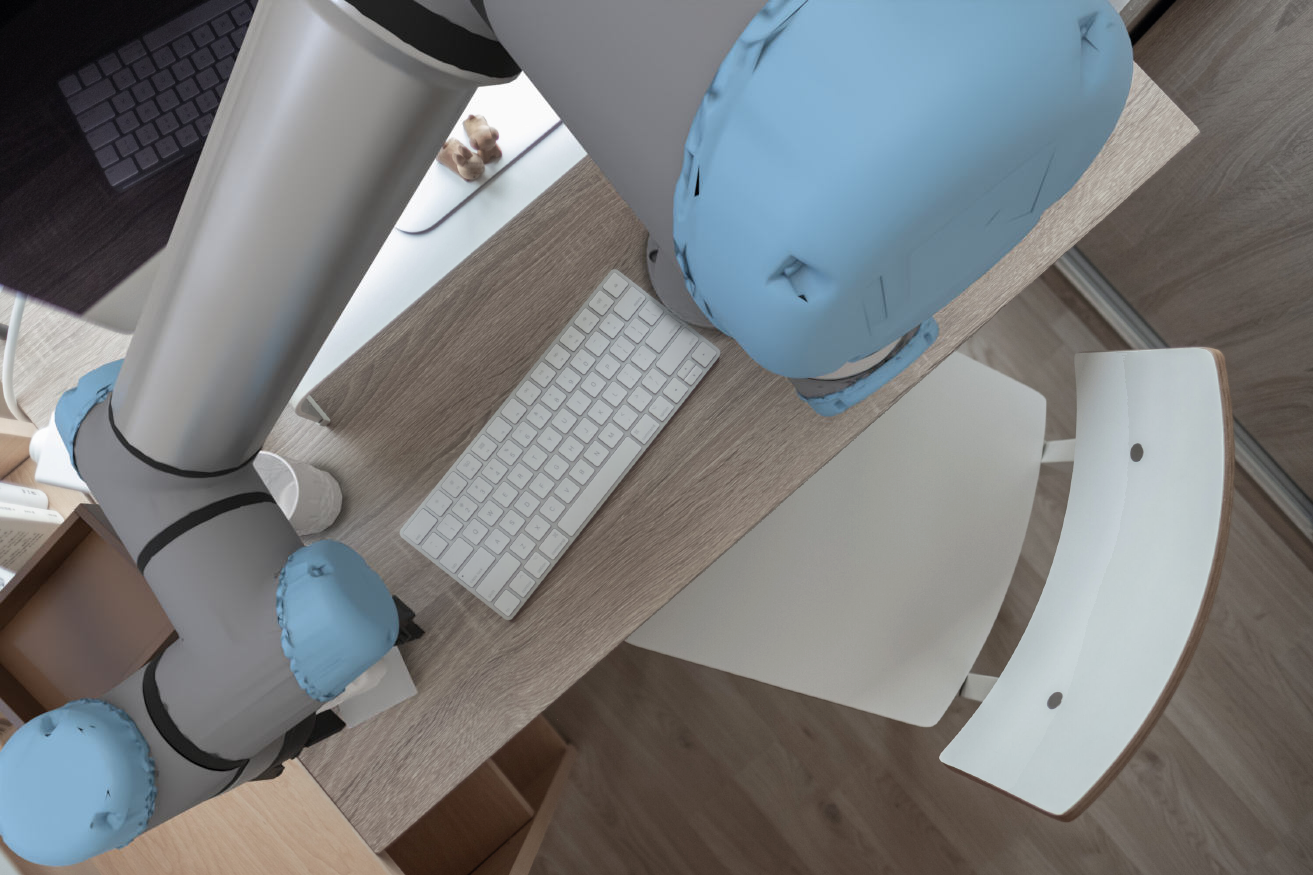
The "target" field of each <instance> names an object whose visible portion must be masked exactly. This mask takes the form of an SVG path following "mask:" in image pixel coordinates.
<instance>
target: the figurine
mask: <svg viewBox="0 0 1313 875" xmlns="http://www.w3.org/2000/svg"><path fill="white" fill-rule="evenodd" d="M417 694H419V693H418V690H417V688H416V685H415V683H414V681H413V678H412V676H411V674H410V672H409V669H408V667H407V665H406V663H405V661H404V658H403V657H402V654H401V651H400V649H399V646H395V647H394V646H393V647H392V649H391V650H390V651H389V652H388V653H387V654H386V655H384V656H383V657H382V658H381V659H380V660H378V661H377V662H376V663H375V664H373V665H372V666H371V667H370V668H369V669H367V670H366V671H365V672H364V673H362V674H361V675H360V676H359V677H357V678H356V679H355V680H354V681H353V682H351V683H350V684H349V685H348V686H346V687H345V691H344V692H343V693H341V694H340V695H338V696H337V697H336V698H335V699H333V700H331V701H328V702H327V703H326V704H324V705H323V706H322V707H321V708H319V709H318V710H317V711H316V714H318V713H320V712H323V711H325V710H328V709H331V710H332V709H333V708H334V707H336V706H337V707H338V709H339V711H340V714H341V716H342V719H343V721H344V722H345V723H346V728H347V729H348V730H350V729H352V728H354V727H356V726H358V725H360V724H362V723H364V722H365V721H368V720H369V719H372V718H373V717H376V716H377V715H379V714H381V713H383V712H385V711H387V710H389V709H391V708H392V707H394V706H397V705H398V704H401V703H402V702H404V701H405V700H408V699H409V698H411V697H414V696H415V695H417Z"/></svg>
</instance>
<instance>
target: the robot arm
mask: <svg viewBox="0 0 1313 875" xmlns="http://www.w3.org/2000/svg"><path fill="white" fill-rule="evenodd" d="M240 46H241V47H240V50H239V51H238V55H237V57H236V60H235V62H234V65H233V68H232V71H231V73H230V76H229V79H228V81H227V84H226V87H225V89H224V92H223V94H222V97H221V100H220V103H219V105H218V107H217V111H216V113H215V116H214V119H213V121H212V123H211V127H210V129H209V131H208V135H207V138H206V140H205V143H204V144H203V145H204V146H203V147H202V150H201V153H200V156H199V159H198V161H197V164H196V167H195V170H194V172H193V175H192V177H191V179H190V182H189V186H188V188H187V190H186V193H185V195H184V199H183V202H182V204H181V207H180V209H179V212H178V214H177V217H176V220H175V223H174V225H173V227H172V231H171V233H170V236H169V239H168V241H167V243H166V246H165V249H164V252H163V255H162V257H161V260H160V263H159V266H158V268H157V271H156V273H155V276H154V279H153V281H152V284H151V287H150V289H149V292H148V294H147V297H146V299H145V302H144V304H143V308H142V311H141V313H140V315H139V319H138V320H137V324H136V327H135V330H134V332H133V334H132V338H131V340H130V342H129V346H128V348H127V351H126V353H125V356H124V357H123V358H120V359H116V360H113V361H110V362H108V363H105V364H103V365H101V366H98V367H96V368H95V369H92V370H90V371H89V372H86V373H85V374H84V375H82V376H80V377H79V379H78V381H77V385H76V386H74V387H72V388H69V389H67V390H65V391H64V392H63V393H62V394H61V396H60V397H59V400H58V401H57V402H56V406H55V409H54V425H55V427H56V431H57V432H58V434H59V436H60V439H61V440H62V442H63V445H64V447H65V449H66V451H67V453H68V455H69V456H68V457H69V462H70V465H71V466H72V468H73V469H74V470H75V473H76V475H77V476H78V478H79V479H80V480H81V481H82V482H84V484H85V485H86V487H87V488H88V490H89V491H90V493H91V494H92V496H93V498H94V499H95V501H96V502H97V504H99V506H100V507H101V509H102V510H103V512H104V514H105V515H106V517H107V518H108V520H109V522H110V523H111V525H112V526H113V528H114V530H115V531H116V533H117V534H118V536H119V538H120V539H121V541H122V542H123V544H124V546H125V547H126V549H127V550H128V552H129V554H130V555H131V557H132V558H133V560H134V562H135V563H136V565H137V566H138V569H139V570H140V572H141V574H142V575H143V577H144V578H145V579H146V581H147V582H148V584H149V586H150V587H151V589H152V591H153V592H154V594H155V596H156V598H157V599H158V601H159V603H160V604H161V606H162V608H163V609H164V611H165V613H166V614H167V616H168V618H169V619H170V621H171V623H172V625H173V626H174V628H175V629H176V631H177V633H178V635H179V639H178V640H177V641H175V642H174V643H173V644H172V645H171V646H169V647H168V648H167V649H166V650H164V651H163V652H161V653H160V654H159V655H157V656H156V657H155V658H153V660H152V661H151V662H149V663H148V664H146V665H145V666H143V667H142V668H141V669H139V670H138V671H137V672H135V673H134V674H133V675H131V676H130V677H128V678H127V679H126V680H124V681H123V682H122V683H120V684H119V685H117V686H116V687H115V688H113V689H112V690H110V691H108V692H107V693H105V694H103V695H101V696H99V697H97V698H94V699H91V698H82V699H79V700H78V701H77V700H74V701H70V702H68V703H67V704H66V705H64V706H63V707H60V708H57V709H55V710H52V711H49V712H46V713H44V714H41V715H39V716H37V717H35V718H34V719H32V720H30V721H29V722H28V723H26V724H25V725H23V726H22V727H21V728H20V729H18V730H17V729H16V731H15V732H14V733H13V734H12V735H11V736H10V738H9V739H8V740H7V741H6V743H5V744H4V745H3V747H2V748H1V750H0V836H1V837H2V840H3V843H4V844H6V846H7V847H8V848H9V849H10V850H11V851H12V852H13V853H14V854H16V855H17V856H19V857H20V858H22V859H23V860H25V861H28V862H30V863H33V864H36V865H41V866H46V867H69V866H72V865H77V864H80V863H83V862H85V861H87V860H90V859H93V858H94V857H98V856H99V855H102V854H105V853H107V852H111V851H112V850H121V849H124V848H125V847H127V846H129V845H130V844H131V843H132V842H134V840H135V839H136V838H138V837H140V836H142V835H144V834H146V833H148V832H149V831H151V830H154V829H155V828H157V827H159V826H160V825H163V824H164V823H166V822H168V821H170V820H171V819H173V818H175V817H177V816H179V815H181V814H183V813H185V812H187V811H189V810H190V809H191V810H192V809H193V808H194V807H196V806H199V805H201V804H202V803H204V802H207V801H209V800H212V799H215V798H217V797H220V796H222V795H224V794H226V793H229V792H230V791H233V790H234V789H236V788H239V787H240V786H242V785H244V784H246V783H252V782H253V783H254V782H261V781H270V780H275V779H276V778H280V776H281V775H282V774H284V773H283V771H284V770H285V769H286V767H285V765H283V764H284V763H285V762H287V761H288V760H290V761H293V760H295V759H297V758H298V757H299V756H300V755H301V754H302V752H303V751H304V749H305V748H306V749H308V748H310V747H312V746H314V745H316V744H318V743H320V742H322V741H324V740H326V739H328V738H330V737H332V736H334V735H336V734H338V733H340V732H342V731H343V730H344V729H345V727H347V725H346V723H345V721H344V719H343V718H341V717H340V716H339V715H338V714H337V713H335V711H333V709H332V708H331V709H328V710H325V711H323V712H320V713H318V714H316V711H317V710H318V709H319V708H321V707H322V706H323V705H324V704H326V703H327V702H328V701H331V700H333V699H335V698H336V697H337V696H338V695H340V694H341V693H343V692H344V691H345V687H346V686H348V685H349V684H350V683H351V682H353V681H354V680H355V679H356V678H357V677H359V676H360V675H361V674H362V673H364V672H365V671H366V670H367V669H369V668H370V667H371V666H372V665H373V664H375V663H376V662H377V661H378V660H380V659H381V658H382V657H383V656H384V655H386V654H387V653H388V652H389V651H390V650H391V649H392V647H393V646H394V647H395V646H397V647H399V646H401V645H405V644H407V643H410V642H414V641H417V640H420V639H422V637H423V636H424V635H425V634H426V631H425V630H424V629H422V627H421V626H420V625H418V624H417V623H416V622H415V621H414V620H415V617H416V616H417V614H416V612H415V611H414V610H412V609H411V608H410V607H409V606H408V605H407V604H406V603H405V602H404V601H402V599H401V598H400V597H398V595H396V594H394V595H392V594H391V592H390V590H389V588H388V587H387V585H386V583H385V582H384V580H383V579H382V577H381V576H380V575H379V574H378V572H377V571H375V570H373V569H372V568H371V567H370V566H369V565H368V563H367V562H366V560H365V558H364V557H363V556H362V555H360V554H359V552H357V551H355V549H353V548H351V547H350V546H348V545H346V544H345V543H344V542H341V541H338V540H334V539H327V538H326V539H319V540H316V541H314V542H312V543H311V544H308V545H306V546H305V544H304V542H303V541H302V539H301V536H298V534H297V533H296V531H295V530H294V528H293V527H292V525H291V524H290V522H289V520H288V519H287V517H286V516H285V514H284V513H283V511H282V510H281V508H280V507H279V505H278V504H277V503H276V501H275V499H274V498H273V496H272V495H271V493H270V491H269V490H268V488H267V487H266V485H265V484H264V482H263V480H262V479H261V477H260V476H259V474H258V473H257V471H256V469H255V468H254V466H253V462H254V460H255V459H256V457H257V455H258V453H259V452H260V451H262V449H263V447H264V444H265V442H266V440H267V438H269V435H270V434H271V432H272V430H273V429H274V427H275V425H276V424H277V422H278V421H279V419H280V417H281V416H282V414H283V412H284V411H285V409H286V407H287V406H288V404H289V402H290V401H291V399H292V397H293V396H294V394H295V393H296V391H297V390H298V387H299V386H300V384H301V382H302V381H303V379H304V377H305V376H306V374H307V372H308V371H309V369H310V368H311V366H312V364H313V363H314V361H315V359H316V358H317V356H318V354H319V352H320V351H321V349H322V347H323V346H324V344H325V343H326V341H327V339H328V337H329V336H330V334H331V332H332V331H333V329H334V328H335V326H336V324H337V323H338V321H339V320H340V318H341V316H342V314H343V313H344V311H345V309H346V307H347V305H348V304H349V303H350V301H351V299H352V298H353V296H354V294H355V293H356V291H357V289H358V288H359V286H360V285H361V283H362V281H363V280H364V278H365V276H366V274H367V273H368V271H369V270H370V268H371V267H372V265H373V263H374V261H375V260H376V258H377V256H378V255H379V253H380V251H381V250H382V248H383V247H384V244H385V243H386V242H387V239H388V238H389V237H390V234H391V233H392V232H393V230H394V228H395V226H396V225H397V223H398V222H399V220H400V218H401V217H402V215H403V213H404V212H405V210H406V208H407V207H408V205H409V203H410V201H411V200H412V198H413V196H415V193H416V191H417V190H418V188H419V187H420V185H421V183H422V181H423V180H424V178H425V177H426V175H427V173H428V172H429V170H430V168H431V167H432V165H433V163H434V162H435V160H436V159H437V157H438V155H439V153H440V152H441V150H442V148H443V147H444V145H445V144H446V142H447V140H448V139H449V137H450V135H451V133H452V132H453V130H454V129H455V127H456V125H457V124H458V122H459V120H460V118H461V117H462V116H463V113H464V112H465V110H466V109H467V107H468V105H469V103H470V102H471V100H472V99H473V97H474V95H475V93H476V92H477V90H478V88H482V87H491V86H500V85H507V84H510V83H512V82H514V81H516V80H517V79H518V78H519V77H520V75H521V74H522V72H523V74H524V75H525V76H526V77H527V78H528V80H529V81H530V83H531V84H532V85H533V86H534V88H535V89H536V90H537V92H538V93H539V95H541V97H542V98H543V99H544V100H545V101H546V103H547V104H548V105H549V107H550V108H551V109H552V110H553V112H554V113H555V114H556V116H557V117H558V119H560V121H561V122H562V123H563V125H564V126H565V127H566V128H567V129H568V131H569V132H570V134H572V136H573V137H574V138H575V140H576V141H577V142H578V144H579V145H580V147H581V148H582V149H583V150H584V151H585V152H586V154H587V156H589V158H590V159H591V160H592V162H593V163H594V165H596V167H597V168H598V169H599V170H600V172H601V173H602V174H603V176H604V177H605V178H606V180H607V181H608V182H609V183H610V185H611V186H612V187H613V188H614V190H615V191H616V192H617V193H618V195H619V196H620V197H621V199H622V200H623V201H624V202H625V203H626V205H627V206H628V208H629V209H630V210H631V211H632V212H633V214H634V215H635V216H636V218H637V219H638V220H639V221H640V223H641V224H642V225H643V227H644V228H645V229H646V230H647V232H648V233H649V235H648V239H647V244H646V267H647V273H648V277H649V279H650V284H651V286H652V288H653V291H654V292H655V294H656V296H657V297H658V299H659V300H660V301H661V303H662V304H663V306H665V308H666V309H667V310H668V311H669V312H671V313H672V314H673V315H674V316H676V317H677V318H678V319H680V320H682V321H684V322H686V323H688V324H690V325H692V326H695V327H697V328H701V329H705V330H713V331H720V332H721V333H723V334H724V335H726V336H728V337H730V338H733V339H734V340H735V341H736V343H738V345H739V346H740V347H741V348H742V349H743V350H744V351H745V353H746V354H747V355H748V356H749V357H750V358H751V359H752V360H753V361H754V362H755V363H756V364H758V365H759V366H760V367H762V368H763V369H765V370H767V371H769V372H770V373H773V374H775V375H778V376H781V377H783V378H784V377H785V378H787V380H788V381H789V382H790V383H791V385H792V387H793V388H794V389H795V392H796V395H797V396H798V397H799V398H798V399H799V400H801V401H802V402H805V403H806V404H808V406H810V408H811V409H812V410H813V412H815V413H816V414H817V415H819V416H820V417H826V418H830V417H831V418H832V417H835V416H839V415H840V414H842V413H844V412H846V411H847V410H848V409H849V408H851V407H853V406H855V405H857V404H859V403H861V402H862V401H864V400H866V399H867V398H868V397H870V396H871V395H872V394H874V393H876V392H877V391H878V390H880V389H881V388H883V387H884V386H885V385H887V384H888V383H889V382H891V381H893V379H895V378H896V377H897V376H898V375H899V374H901V373H902V372H904V371H905V370H906V369H907V368H909V367H911V365H912V364H914V363H915V362H916V361H917V360H918V359H920V357H922V355H923V354H924V353H925V352H926V351H927V350H928V348H930V347H931V346H933V344H935V342H936V341H937V339H938V337H939V334H940V326H939V323H938V322H937V319H935V317H934V315H936V314H937V313H938V312H940V311H941V310H942V309H944V308H945V307H946V306H947V305H949V304H950V303H951V302H953V301H954V300H956V298H958V297H959V296H960V295H961V294H963V293H964V292H966V290H967V289H968V288H970V287H971V286H972V285H973V284H974V283H975V282H977V281H978V280H979V279H981V278H983V276H985V275H986V274H987V273H988V272H989V271H990V270H992V268H993V267H994V266H996V265H998V263H999V262H1000V261H1002V259H1004V258H1005V257H1006V256H1007V255H1008V254H1009V253H1010V252H1011V251H1012V250H1013V249H1014V248H1015V247H1017V246H1018V245H1019V244H1020V243H1021V242H1022V241H1023V240H1024V239H1025V238H1026V237H1027V236H1028V235H1029V233H1030V232H1031V231H1032V230H1033V229H1034V228H1035V227H1036V226H1037V225H1038V224H1039V223H1040V220H1041V216H1042V215H1043V214H1044V212H1045V211H1046V210H1048V209H1049V208H1051V207H1052V206H1053V205H1055V204H1056V203H1057V202H1058V201H1059V200H1061V199H1062V198H1064V196H1065V195H1066V194H1068V193H1069V192H1070V191H1071V190H1072V189H1073V188H1074V186H1075V185H1076V184H1077V183H1078V181H1079V180H1080V179H1081V178H1082V177H1083V175H1084V174H1085V173H1086V172H1087V170H1088V169H1089V168H1090V167H1091V165H1092V164H1093V162H1094V161H1095V160H1096V158H1097V156H1098V155H1099V154H1100V153H1101V151H1102V150H1103V148H1104V147H1105V145H1106V143H1107V142H1108V140H1109V139H1110V137H1111V136H1112V134H1113V132H1114V131H1115V128H1116V126H1117V125H1118V122H1119V120H1120V118H1121V116H1122V114H1123V112H1124V109H1125V108H1126V107H1125V106H1126V104H1127V101H1128V98H1129V94H1130V91H1131V87H1132V83H1133V76H1134V75H1133V74H1134V50H1133V45H1132V41H1131V38H1130V35H1129V33H1128V30H1127V27H1126V23H1124V20H1123V19H1122V17H1121V14H1120V13H1119V12H1118V10H1117V8H1115V7H1114V5H1113V4H1112V3H1111V2H1110V1H1109V0H258V1H257V3H256V7H255V9H254V12H253V15H252V16H251V20H250V22H249V25H248V28H247V31H246V33H245V36H244V38H243V41H242V44H241V45H240Z"/></svg>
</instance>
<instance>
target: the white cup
mask: <svg viewBox="0 0 1313 875" xmlns="http://www.w3.org/2000/svg"><path fill="white" fill-rule="evenodd" d="M253 466H254V468H255V469H256V471H257V473H258V474H259V476H260V477H261V479H262V480H263V482H264V484H265V485H266V487H267V488H268V490H269V491H270V493H271V495H272V496H273V498H274V499H275V501H276V503H277V504H278V505H279V507H280V508H281V510H282V511H283V513H284V514H285V516H286V517H287V519H288V520H289V522H290V524H291V525H292V527H293V528H294V530H295V531H296V533H297V534H298V536H299V537H302V536H305V535H313V534H320V533H321V532H323V531H325V530H326V529H328V528H329V527H331V526H332V525H334V522H335V521H336V519H337V518H338V516H339V515H340V513H341V511H342V505H343V498H344V497H343V494H342V490H341V487H340V483H339V481H337V480H336V479H335V478H334V477H333V476H332V474H331V473H330V472H328V471H325V470H322V469H318V468H317V467H314V466H313V465H311V464H308V463H305V462H303V461H300V460H296V459H293V458H291V457H287V456H284V455H282V454H281V455H280V454H278V453H275V452H271V451H268V450H260V452H259V453H258V455H257V457H256V459H255V460H254V462H253Z"/></svg>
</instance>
